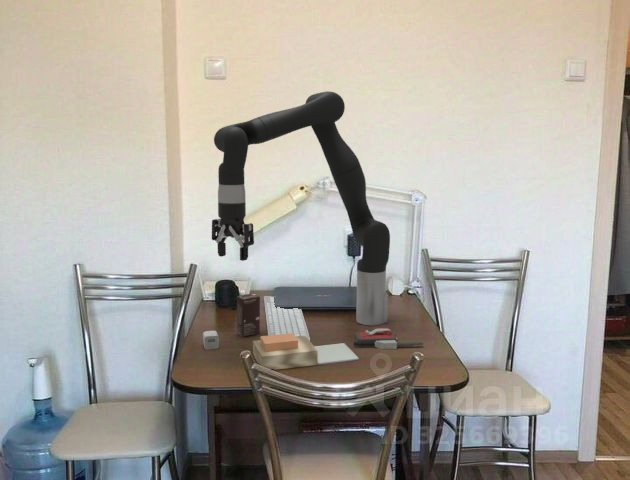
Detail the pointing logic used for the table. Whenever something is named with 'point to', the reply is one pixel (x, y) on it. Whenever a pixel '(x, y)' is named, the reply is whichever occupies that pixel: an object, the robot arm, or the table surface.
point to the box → (248, 314)
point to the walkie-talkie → (380, 339)
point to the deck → (287, 355)
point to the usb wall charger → (210, 340)
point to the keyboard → (284, 320)
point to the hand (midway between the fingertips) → (232, 258)
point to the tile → (279, 342)
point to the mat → (334, 353)
